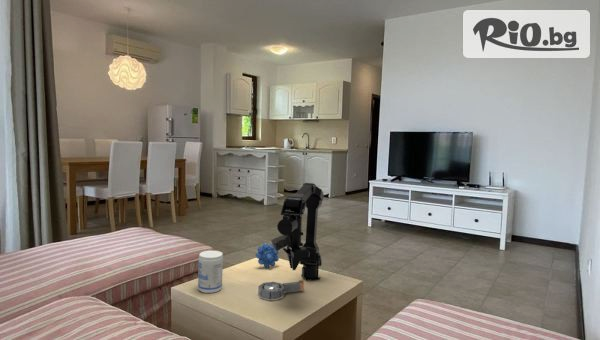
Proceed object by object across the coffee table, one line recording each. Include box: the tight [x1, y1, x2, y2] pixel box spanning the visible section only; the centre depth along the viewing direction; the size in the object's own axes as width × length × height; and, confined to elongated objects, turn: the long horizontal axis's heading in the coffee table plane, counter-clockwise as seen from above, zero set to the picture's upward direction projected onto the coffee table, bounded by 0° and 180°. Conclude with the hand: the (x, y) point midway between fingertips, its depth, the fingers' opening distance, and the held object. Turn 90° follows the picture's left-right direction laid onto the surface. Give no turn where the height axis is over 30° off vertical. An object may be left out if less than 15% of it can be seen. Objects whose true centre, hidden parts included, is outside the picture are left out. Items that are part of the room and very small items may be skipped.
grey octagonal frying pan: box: [258, 280, 305, 299], centre depth 149 cm, size 18×10×3 cm, turn 111°
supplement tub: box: [197, 250, 224, 294], centre depth 151 cm, size 10×10×15 cm
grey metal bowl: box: [258, 283, 285, 302], centre depth 147 cm, size 10×10×4 cm
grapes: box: [255, 242, 280, 268], centre depth 177 cm, size 12×7×12 cm, turn 114°
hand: (292, 269), depth 143 cm, fingers closed
